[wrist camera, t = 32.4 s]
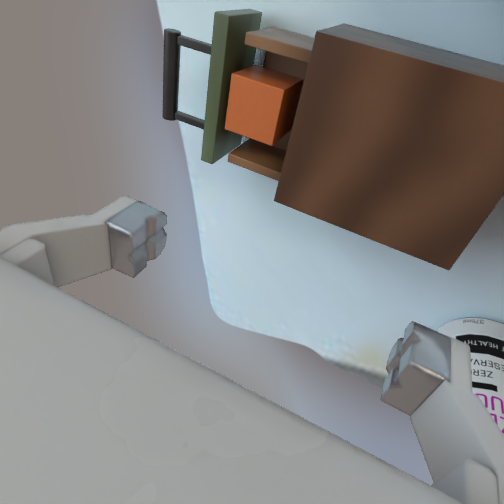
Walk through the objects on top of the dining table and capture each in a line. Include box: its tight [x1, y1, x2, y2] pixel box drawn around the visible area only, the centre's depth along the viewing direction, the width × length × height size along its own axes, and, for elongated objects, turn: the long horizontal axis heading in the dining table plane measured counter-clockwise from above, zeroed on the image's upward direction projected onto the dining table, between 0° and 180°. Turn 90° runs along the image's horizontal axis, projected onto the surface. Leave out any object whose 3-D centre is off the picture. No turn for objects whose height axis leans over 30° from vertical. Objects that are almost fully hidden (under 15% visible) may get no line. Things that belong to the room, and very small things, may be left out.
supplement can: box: [437, 318, 504, 434], centre depth 33 cm, size 8×8×15 cm
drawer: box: [163, 9, 315, 181], centre depth 30 cm, size 18×11×6 cm, turn 79°
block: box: [225, 65, 303, 146], centre depth 30 cm, size 4×4×4 cm
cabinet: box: [274, 24, 504, 270], centre depth 28 cm, size 15×13×8 cm
